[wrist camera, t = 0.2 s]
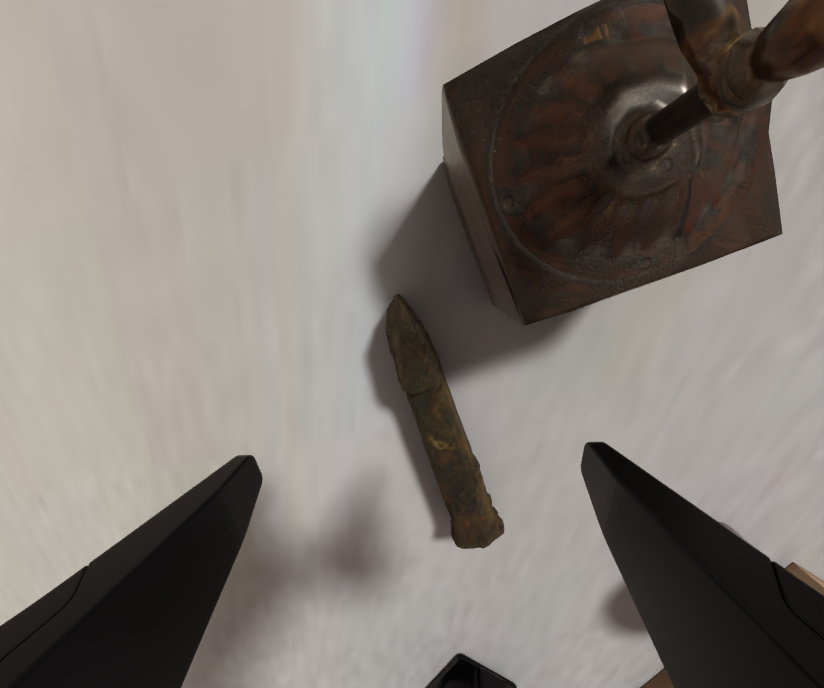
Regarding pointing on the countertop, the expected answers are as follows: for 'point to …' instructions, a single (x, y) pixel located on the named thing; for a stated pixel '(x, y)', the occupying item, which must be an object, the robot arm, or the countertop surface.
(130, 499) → the countertop surface
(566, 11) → the countertop surface
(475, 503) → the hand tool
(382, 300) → the countertop surface
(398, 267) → the countertop surface
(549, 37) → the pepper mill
